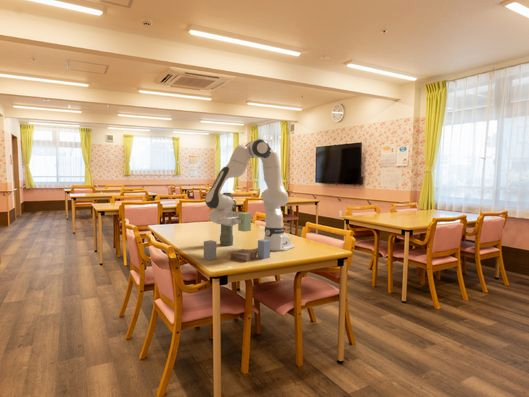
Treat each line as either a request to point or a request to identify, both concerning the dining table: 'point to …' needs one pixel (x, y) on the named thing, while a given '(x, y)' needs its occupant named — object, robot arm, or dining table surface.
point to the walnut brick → (243, 255)
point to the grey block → (210, 250)
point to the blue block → (263, 249)
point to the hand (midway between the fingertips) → (245, 221)
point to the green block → (244, 222)
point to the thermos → (227, 229)
